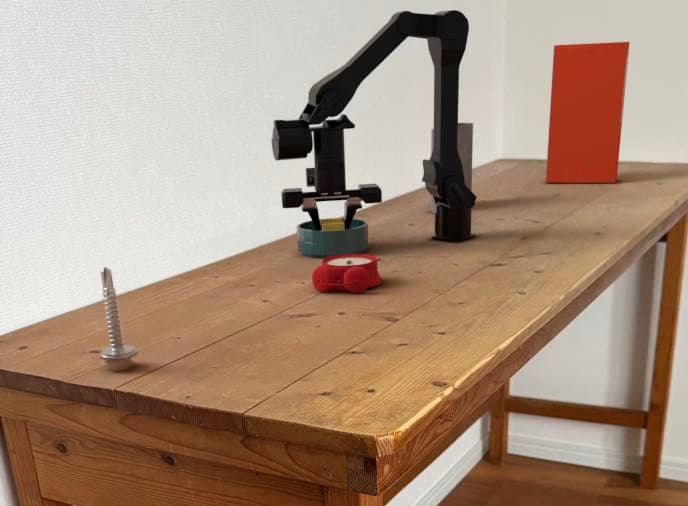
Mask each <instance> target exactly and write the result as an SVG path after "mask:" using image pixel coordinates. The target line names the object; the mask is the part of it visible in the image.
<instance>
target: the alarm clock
mask: <svg viewBox="0 0 688 506" xmlns="http://www.w3.org/2000/svg"><path fill="white" fill-rule="evenodd" d="M380 261H381V258H380V257H378V258H377V257H376V256H374V255H372V254H365V253H361V254H342V255H335V256H330V257H327V258H322V261H321V265H320V266H317V267H315V269H313V271H312V274H311V282H312V285H313V287H314V288H315V290H317V291H318V292H320V293H328V292H331V291H348V292H350V293H352V294H361V293H363V292H365V291H366V290H368V289H370V288H373V287H376V286H378V285H380V284H381V283H382V277H381V275H380V272H379V271H378V262H380Z"/></svg>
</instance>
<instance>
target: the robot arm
mask: <svg viewBox="0 0 688 506" xmlns="http://www.w3.org/2000/svg"><path fill="white" fill-rule="evenodd" d="M469 33H470V23H469V19H468V17H467V16H465V14H464V13H463V12H462V11H460V10H457V9H451V10H450V9H449V10H441V11H437V12H435V13H432V14H430V13H418V12H412V11H409V10H401V11H397V12H394V13H393V15H392V16H391V18H389V20H388V21H387V23H385V24H384V25H383V26H382V27H381V28H380V29H379V30H378V31H377V32H376V33H375V34H374V35H373V36H372V37H371V38H370V39H369V40H368V41H367V42H366V43H365V44H364V45H363V46H362V47H361V48H360V49H359V50H358V51H356V53H355V54H354V55H353V56H352V57H350V59H349V60H348V61H347V62H346V63H345V64H343V65H342V66H340V67H339V68H338V69H336V70H334V71H332V72H330V73H329V74H327V75H325V76H324V77H322V78H321V79H320V80H318V81H316V82H315V83H314V84H312V85H311V87H310V88H309V91H308V98H307V99H308V100H307V103H306V105H305V106H304V109H303V110H302V112H301V113H300V115H299V117H298V118H297V119H274V120H273V129H272V138H271V148H272V155H273V158H274V160H275V161H287V160H302V159H307V158H308V155H309V154H311V153H312V151H313V162H314V165H313V166H314V167H305V180H306V181H305V182H306V183H305V184H306V187H307V188H313V187H314V191H304V192H303V188H302V187H294V188H292V187H291V188H283V189H282V191H281V194H280V197H281V207H282V209H298V208H299V209H300V208H301V211H302V213H308V216H309V217H310V220H312V221H313V224H314V226H315V229H316V231H322V230H321V225H320V219H321V218H320V212H319V208H318V205H317V203H318V202H319V203H321V202H338V201H344V204H343V205H344V206H343V207H344V212H343V218H344V225H345V229H350V225H351V222H352V220H353V219H355V215H356V213H357V211H358V210H360V209H363V204H362V202H363V203H364V204H367V205H368V204H380V203H383V192H382V191H383V190H382V188H381V187H380V186H379V185H378V184H377V183H363V184H362V183H361V184H360V183H359V184H358V186H357V188H355V189H354V188H353V189H351V188H350V189H347V183H346V182H347V181H346V153H345V149H346V147H345V130H350V129H355V128H356V124H355V123H354V122H353V121H351V119H350V118H349V117H348V116H347V114H344V113H343V112H344V110H345V109H346V108H347V106H348V105H349V104H350V102H352V101H351V100H353V98H354V96H355V94H356V92H357V90H358V88H359V87H360V85H361V84H362V83H363V81H365V80H366V78H368V76H370V75H371V74H372V73H373V72H374V71H375V70H376V69H377V68H378V67H379V66H380V65H381V64H382V63H383V62H384V61H385V60H386V59H387V58H388V57H389V56H390V55H391V54H392V53H393V52H394V51H395V50H396V49H397V48H398V47H400V45H401V44H402V43H403V42H404V41H406V39H407V38H409V37H410V38H416V39H424V40H425V39H426V40H427V47H428V52H429V55H430V59H431V61H432V65H433V129H434V143H433V152H432V154H431V153H430V157H429V159H423V160H422V169H423V175H422V179H421V182H422V183H424V186H425V189H426V191H427V192H428V193H429V195H430V196H431V195H433V198H434V201H435V203H436V204H439V205H438V206H437V213H434V235H432V236H431V240H436V241H437V240H439V241H447V242H456V243H457V242H461V241H464V240H468V239H472V238H475V237H476V233H472V210H473V208H474V207H475V204H476V200H477V195H476V194H475V193H474V192H473V190H472V191H471V190H470V189H469V188H468V187H467V186H466V185H465V179H464V171H463V165H462V162H461V159H460V156H459V153H458V148H457V145H458V123H459V98H460V97H459V95H460V94H459V92H460V65H461V63H462V60H463V57H464V55H465V52H466V49H467V44H468V37H469ZM339 115H340V116H339ZM337 116H339V118H336V117H337ZM328 118H333V119H328ZM334 118H335V119H334ZM315 125H316V126H315Z"/></svg>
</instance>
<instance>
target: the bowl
mask: <svg viewBox="0 0 688 506" xmlns="http://www.w3.org/2000/svg"><path fill="white" fill-rule="evenodd" d="M331 218H332V217H331ZM331 218H328V217H327V219H331ZM341 218H342V220H343V222H344V217H341ZM369 239H370V237H369V222H368V221H367V220H364V219H361V218H353V220H352V222H351V225H350V229H345V230H332V231H316V229H315V226H314V224H313V221H312V219H310V220H307V221H303V222H301V223H299V224H297V225H296V241H297V250H298V252H299V253H300V254H301V255H303V256H305V257H310V258H318V259H325V258H327V257H330V256H335V255H342V254H364V253H365V252H366V250H367V249H368V248H369V246H370V243H369Z"/></svg>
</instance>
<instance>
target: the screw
mask: <svg viewBox="0 0 688 506" xmlns="http://www.w3.org/2000/svg"><path fill="white" fill-rule="evenodd" d="M99 272H100V278H101V285H102V288H101V290H102V293H101V295H102V296H103V298H102V300H103V301H104V302H103V303H102V304H103V305H104V310H105V312H104V314H105V315H106V316H105V317H104V318H105V319H106V323H107V326H106V328H107V329H108V330H107V332H108V335H107V336H108V337H109V339H108V341H109V342H110V343H109V347H105V348H104V349H102V350H101V351H100V353H99V358H100V359H101V360H104V361H107V362H108V365H109V370H111V371H115V372H120V371H121V372H122V371H127V370H129V369H130V368H131V367H132V360H131V359H132V358H134V357H136V356H137V355H138V349H137V348H135V347H134V346H132V345H127V344H124V342H125V340H124V339H123V338H124V335H123V332H124V331H123V330H122V329H123V327H122V322H121V321H120V320H121V317H120V314H121V313H120V312H119V311H120V308H119V307H118V306H119V303H118V298H117V297H118V294H117V293H116V292H117V289H116V288H115V286H114V281H113V275H112V269H111V268H108V267H107V266H104V267H103V268H101V270H100V271H99Z"/></svg>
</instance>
